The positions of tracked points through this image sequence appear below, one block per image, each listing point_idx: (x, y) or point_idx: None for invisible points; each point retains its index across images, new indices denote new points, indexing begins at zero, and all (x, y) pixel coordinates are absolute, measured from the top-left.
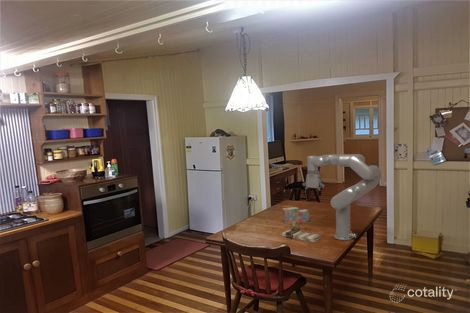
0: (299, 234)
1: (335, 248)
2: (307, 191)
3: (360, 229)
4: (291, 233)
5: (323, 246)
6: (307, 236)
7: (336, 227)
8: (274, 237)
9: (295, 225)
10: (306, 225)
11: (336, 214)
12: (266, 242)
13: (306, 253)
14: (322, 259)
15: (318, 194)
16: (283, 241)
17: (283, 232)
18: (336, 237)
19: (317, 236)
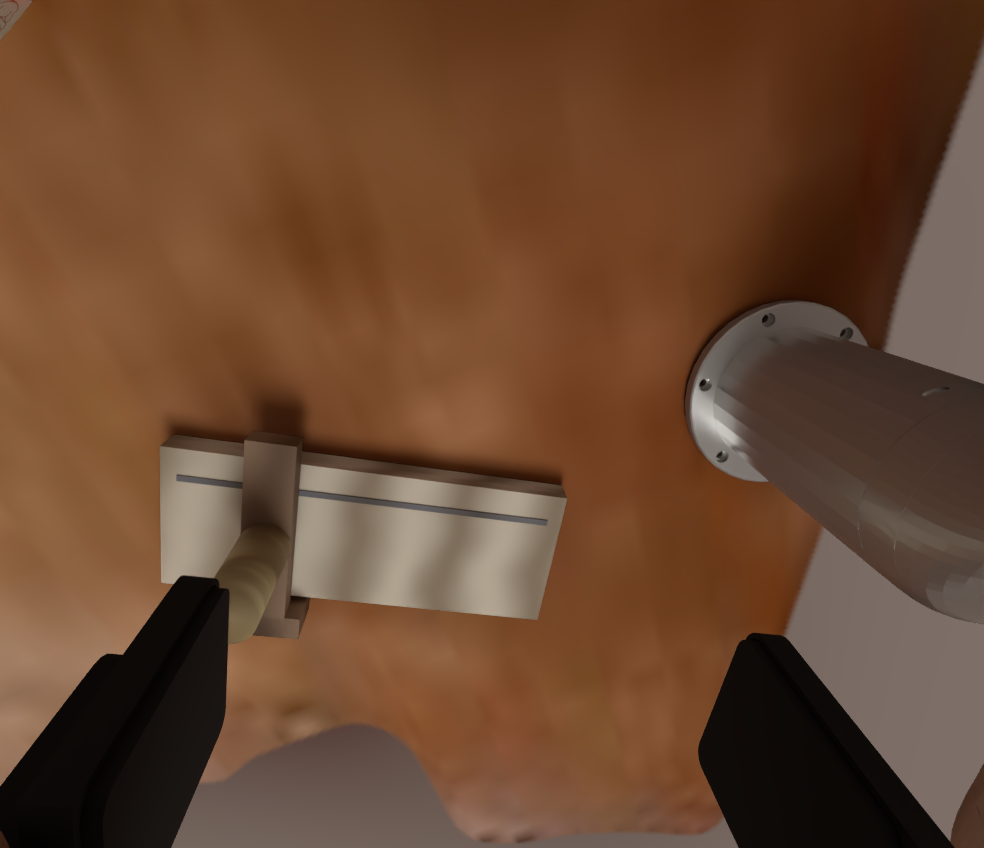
0: (355, 554)
1: (720, 656)
2: (160, 839)
3: (974, 13)
4: (295, 638)
5: (626, 655)
6: (453, 576)
7: (765, 470)
8: (134, 628)
9: (274, 575)
10: (247, 77)
11: (887, 573)
12: None
13: (538, 799)
14: (658, 832)
15: (734, 818)
16: (272, 680)
17: (165, 558)
18: (718, 467)
19: (546, 542)
